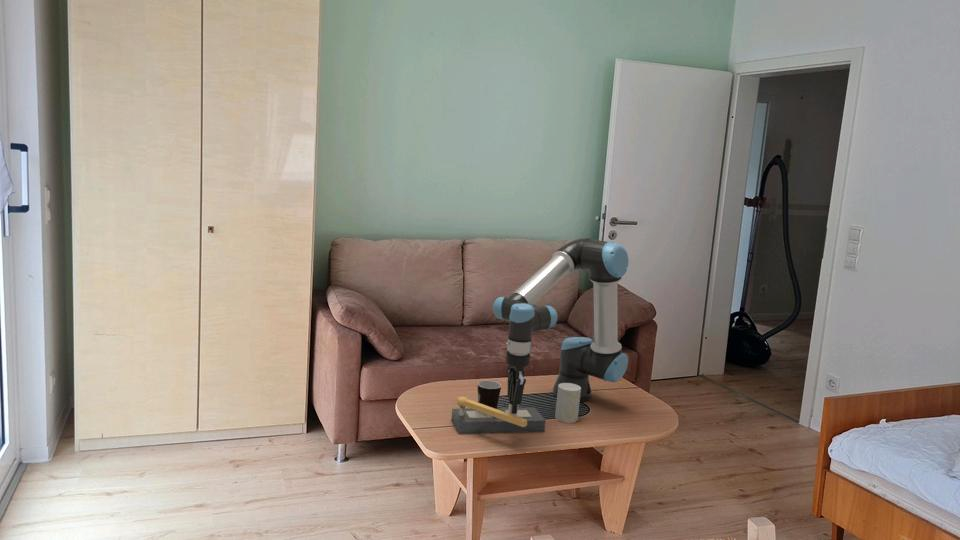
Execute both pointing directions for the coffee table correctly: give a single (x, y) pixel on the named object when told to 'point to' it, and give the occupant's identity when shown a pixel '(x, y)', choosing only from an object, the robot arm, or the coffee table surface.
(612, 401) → the coffee table surface
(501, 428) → the chassis
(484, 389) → the coffee mug
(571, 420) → the gray cylinder
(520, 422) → the bar
